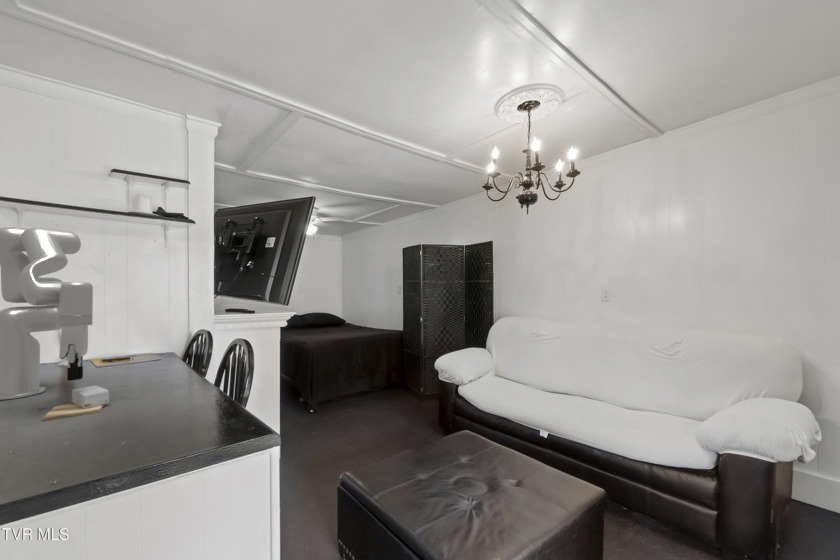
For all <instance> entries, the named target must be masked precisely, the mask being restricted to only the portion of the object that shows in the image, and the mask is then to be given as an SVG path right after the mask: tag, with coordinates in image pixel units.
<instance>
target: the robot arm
mask: <svg viewBox="0 0 840 560" xmlns="http://www.w3.org/2000/svg"><path fill="white" fill-rule="evenodd" d="M81 247H82V242H81V239H80V237H79V236H78V234H77V233H75V232H73V231H71V230H63V229H56V228H47V227H46V228H45V227H29V228H27V227H26V228H24V227H17V226H16V227H14V226H6V227H0V281H1V282H0V287H1V288H0V289H1V297H2V299H3V300H4V301H5V302H7V303H12V304H29V305H30V306H28V305H27V306H26V305H25V306H14V307H13V306H12V307H8V308H7V307H6V308H3V309H2V310H0V400H1V401H2V400H3V401H4V400H14V399H20V398H26V397H31V396H34V395H38V394H41V393H44V392H46V387H45V386H40V376H41V375H40V373H41V372H40V371H41V370H40V369H41V368H40V366H41V362H40V361H41V345H40V341H39V340H38V339H37V338H36V337H34V335H32V334H31V333H38V332H39V333H40V332H51V331H58V330H61V333H60V334H61V335H60V341H59V342H60V343H59V356H58V358H59V359H61V360H64V359H66V358H67V372H66V373H67V378H66V379H67V381H69V382H70V381H77V380H82V379H83V377H84V365H83V363H84V356H85V355H87V353H88V350H89V347H88V346H89V345H88V344H89V326H92V325H93V311H94V310H93V306H94V305H93V303H94V301H93V300H94V287H93V285H92V283H90V282H86V281H85V282H84V281H83V282H81V281H80V282H79V281H73V282H72V281H69V282H68V281H62V280H61V279H59V278H56V277H42V276H46V275H49V274H53V273H56V272H59V271H61V270H62V269H64V268H66V266H68V262H69V261H68V257H67V255H74V254H77V253H78V252H79V251H80V249H81ZM24 252H25V253H24Z"/></svg>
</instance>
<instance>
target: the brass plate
mask: <svg viewBox="0 0 840 560" xmlns="http://www.w3.org/2000/svg"><path fill="white" fill-rule="evenodd" d="M104 406H105V404H103V405H99V406H95V407H90V408H85V409H84V408H82V407H80V406H79V405H77V404H75V403H73V402H71V403H67V404H59V405H55V406H54V407H52V408H51V410H49V411H48V412H47V413H46V414H45V415H44V416H43V417H42V418H41V419H42V420H41V421H42V422H45V421H51V420H57V419H58V420H59V419H64V417H65V418H69V417H70V416H71V417H75V416H81V415H82V416H83V415H88V414H93V413H100V412H101V410H103V408H104Z"/></svg>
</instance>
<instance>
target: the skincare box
mask: <svg viewBox="0 0 840 560" xmlns="http://www.w3.org/2000/svg"><path fill="white" fill-rule="evenodd" d="M71 392H72V393H71V395H72V397H71V400H72V401H71V403H75V404H77V405H79V406H80V407H82V408H84V409H85V408H90V407H95V406H99V405H103V404H104V405H107V404H109V403H110V391H109V389H107V388H104V387H101V386H98V385H89V386H85V387H80V388H75V389H72V391H71Z"/></svg>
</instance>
